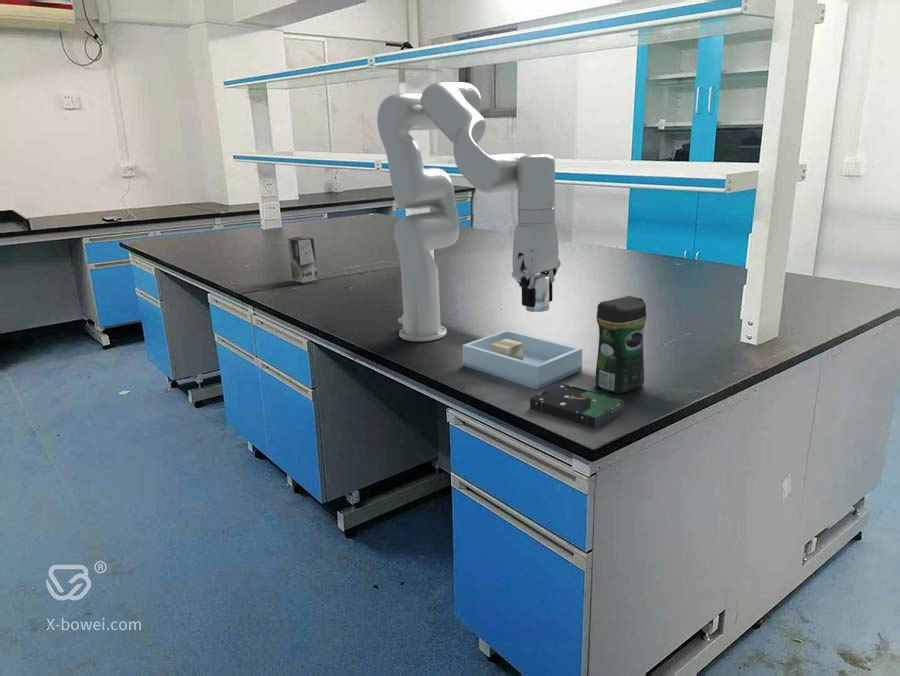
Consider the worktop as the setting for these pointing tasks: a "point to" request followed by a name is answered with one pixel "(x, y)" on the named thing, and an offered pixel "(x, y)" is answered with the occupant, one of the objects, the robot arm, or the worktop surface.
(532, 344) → the tray
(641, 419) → the worktop surface
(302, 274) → the coffee box
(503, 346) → the wooden cube
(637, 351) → the coffee jar
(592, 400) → the disk drive
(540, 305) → the aluminium cylinder
